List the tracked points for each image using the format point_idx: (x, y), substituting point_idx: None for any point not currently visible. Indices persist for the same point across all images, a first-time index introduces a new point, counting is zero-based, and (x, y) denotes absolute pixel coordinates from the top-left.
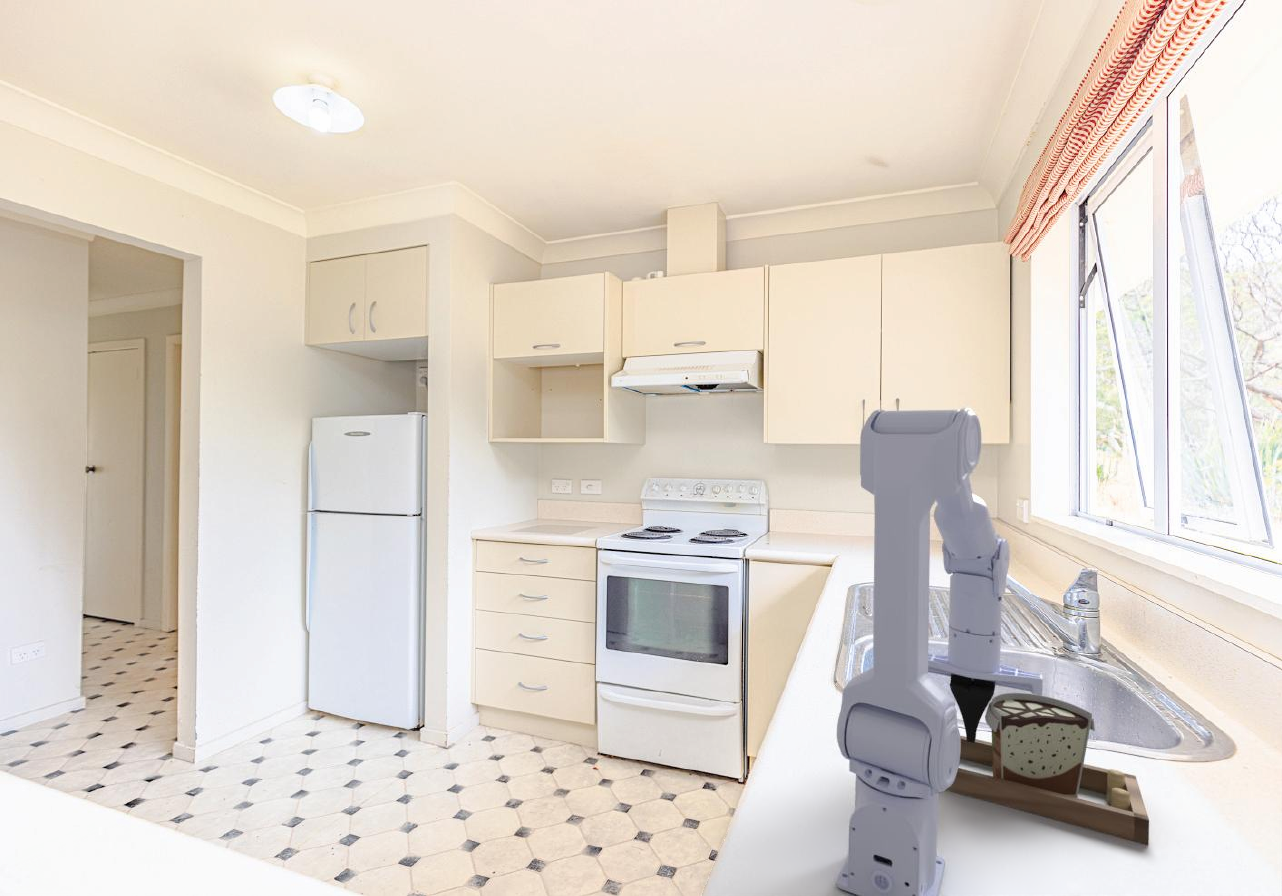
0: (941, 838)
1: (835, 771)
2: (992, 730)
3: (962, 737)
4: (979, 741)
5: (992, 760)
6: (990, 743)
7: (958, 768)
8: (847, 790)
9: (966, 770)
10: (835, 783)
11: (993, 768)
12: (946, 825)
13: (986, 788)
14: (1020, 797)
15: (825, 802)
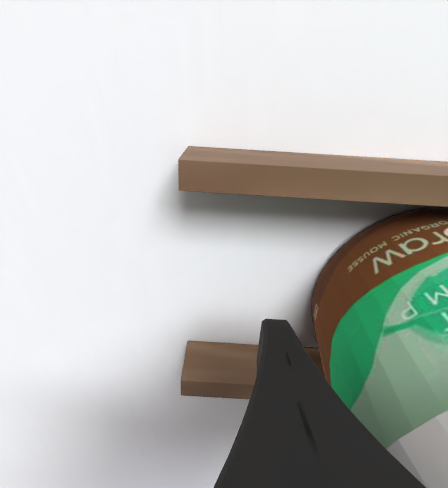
0: (217, 469)
1: (4, 381)
2: None
3: (241, 179)
4: (302, 185)
5: (324, 342)
6: (342, 182)
7: (234, 386)
8: (56, 423)
9: (252, 386)
10: (29, 414)
11: (320, 350)
12: (221, 444)
13: None
14: None
15: (47, 459)
